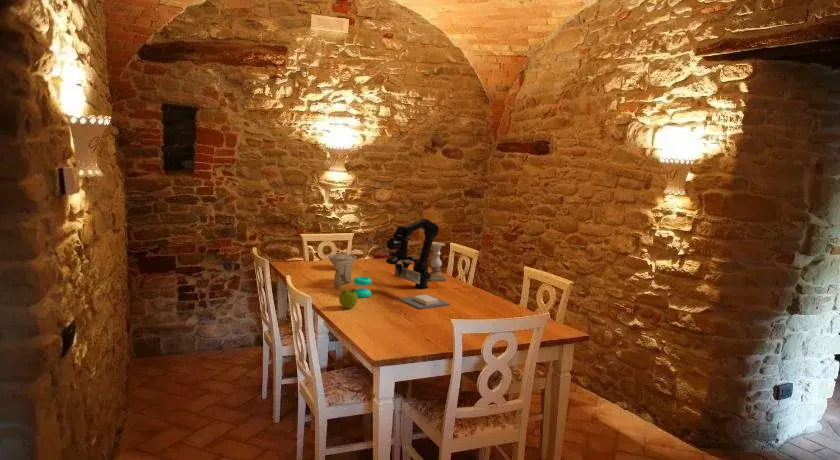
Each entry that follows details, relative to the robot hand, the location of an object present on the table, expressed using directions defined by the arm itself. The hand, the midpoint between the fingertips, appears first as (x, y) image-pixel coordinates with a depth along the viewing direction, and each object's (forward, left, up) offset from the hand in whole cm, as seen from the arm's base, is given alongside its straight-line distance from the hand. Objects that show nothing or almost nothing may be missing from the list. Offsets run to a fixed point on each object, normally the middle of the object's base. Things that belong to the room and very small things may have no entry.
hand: (401, 274), depth 305 cm
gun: (+22, -29, -11) cm, 38 cm away
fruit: (+42, +16, -11) cm, 46 cm away
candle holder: (-39, -18, -11) cm, 44 cm away
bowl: (+3, -68, -11) cm, 69 cm away
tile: (0, +19, -8) cm, 21 cm away
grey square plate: (0, +24, -10) cm, 26 cm away
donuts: (+24, -2, -11) cm, 26 cm away
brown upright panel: (0, +6, -2) cm, 6 cm away
